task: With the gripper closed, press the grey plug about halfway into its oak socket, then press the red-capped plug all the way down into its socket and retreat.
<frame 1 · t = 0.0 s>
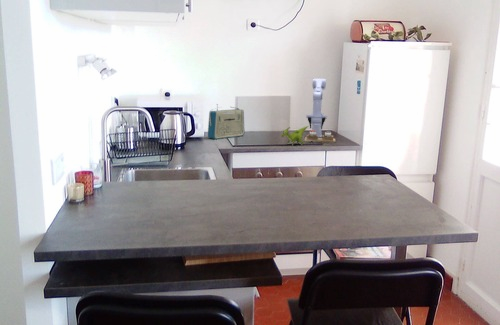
hand: (316, 128, 341), 10 cm above the table, tool pointing down, fingers open, 7 cm apart
radio: (226, 137, 357), on the table
toy: (294, 144, 334), on the table
grey plug: (327, 133, 349), point 5 cm above the table, slide at 0.0 cm
plug red: (312, 133, 351), point 5 cm above the table, slide at 0.0 cm
socket panel: (319, 140, 351), on the table
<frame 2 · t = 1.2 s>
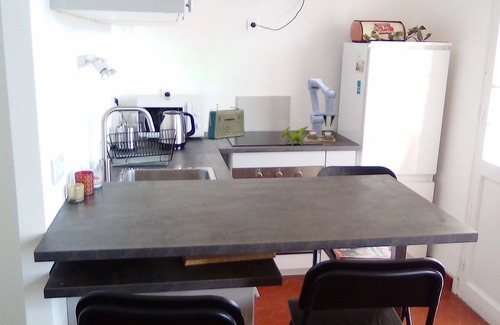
hand: (328, 125, 352), 10 cm above the table, tool pointing down, fingers open, 3 cm apart
nothing on the table moved.
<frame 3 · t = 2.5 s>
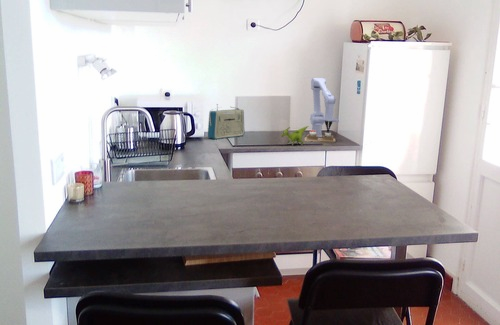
hand: (328, 131, 349), 7 cm above the table, tool pointing down, fingers closed, pressing on grey plug
grey plug: (327, 134, 349), point 5 cm above the table, slide at 0.2 cm, touching gripper
everything else where it was.
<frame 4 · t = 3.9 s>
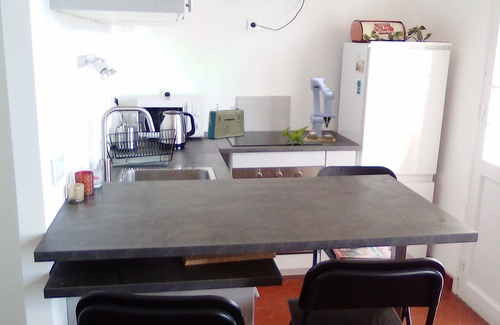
hand: (326, 127, 349), 10 cm above the table, tool pointing down, fingers closed
grey plug: (327, 135, 350), point 4 cm above the table, slide at 1.4 cm
everything else where it was.
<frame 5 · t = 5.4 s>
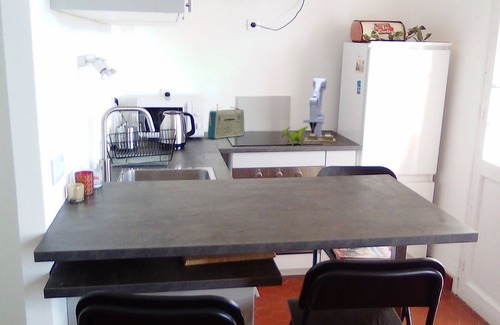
hand: (312, 132, 351), 5 cm above the table, tool pointing down, fingers closed, pressing on plug red
plug red: (312, 135, 351), point 4 cm above the table, slide at 1.6 cm, touching gripper
everything else where it was.
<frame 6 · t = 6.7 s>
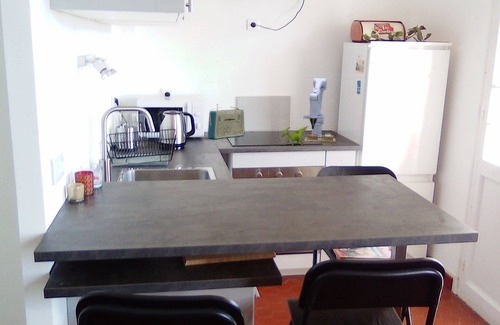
hand: (312, 128, 350), 8 cm above the table, tool pointing down, fingers closed
plug red: (312, 136, 352), point 2 cm above the table, slide at 2.6 cm
everything else where it was.
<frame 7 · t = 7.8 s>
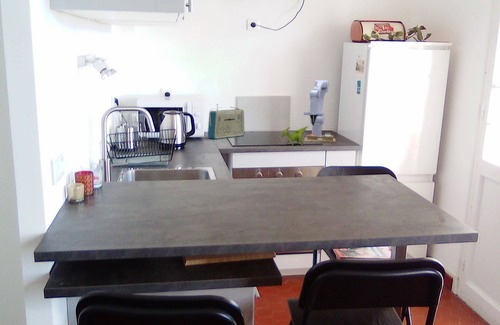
hand: (313, 125, 354), 10 cm above the table, tool pointing down, fingers closed
nothing on the table moved.
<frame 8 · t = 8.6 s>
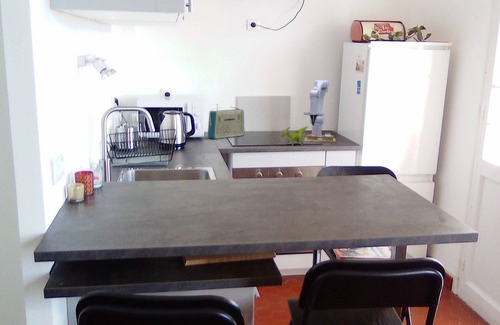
hand: (313, 125, 354), 10 cm above the table, tool pointing down, fingers closed
nothing on the table moved.
at the end: plug red slide at 2.6 cm; grey plug slide at 1.4 cm; plug red touching nothing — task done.
